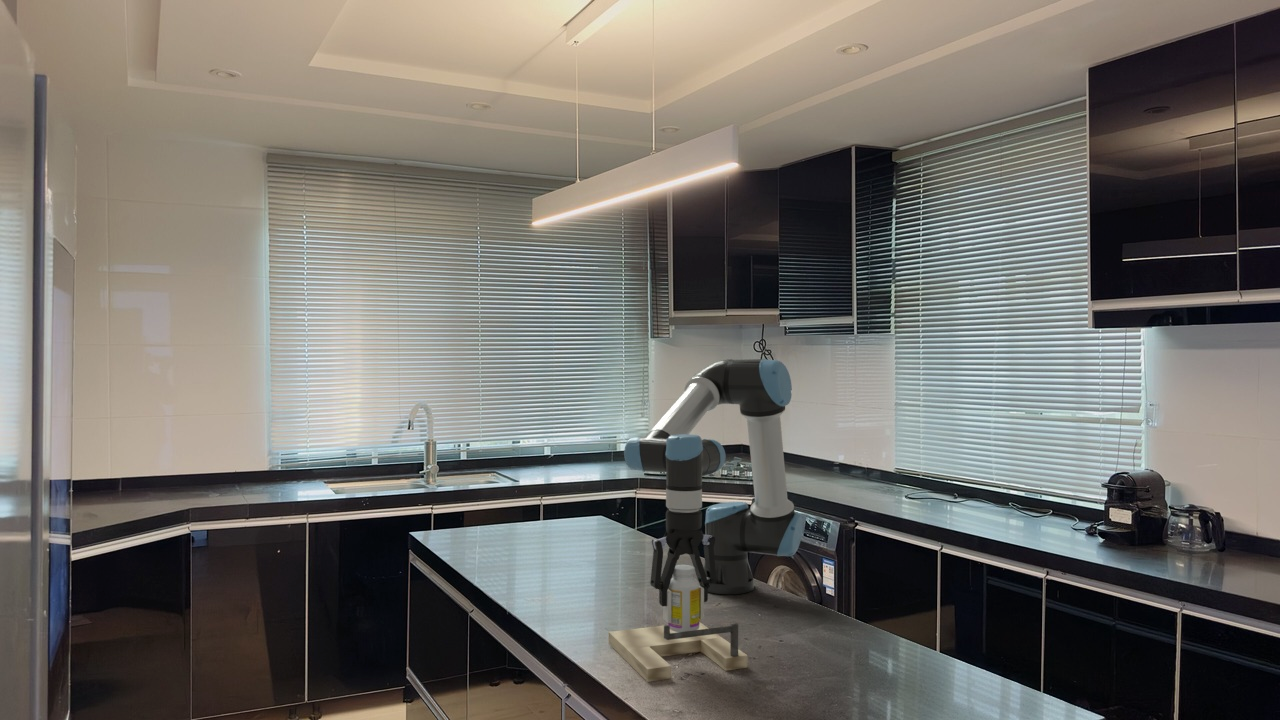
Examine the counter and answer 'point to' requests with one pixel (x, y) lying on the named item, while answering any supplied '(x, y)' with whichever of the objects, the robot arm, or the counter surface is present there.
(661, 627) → the wooden u-shaped stand
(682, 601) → the supplement bottle
